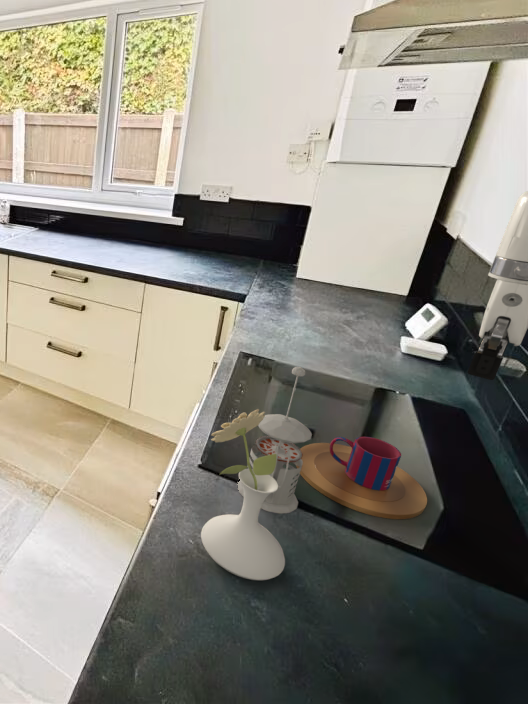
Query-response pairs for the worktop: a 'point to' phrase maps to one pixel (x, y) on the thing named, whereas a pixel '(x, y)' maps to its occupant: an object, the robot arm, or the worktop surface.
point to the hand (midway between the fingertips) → (483, 368)
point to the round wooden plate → (335, 484)
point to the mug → (370, 462)
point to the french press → (281, 455)
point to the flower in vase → (246, 514)
